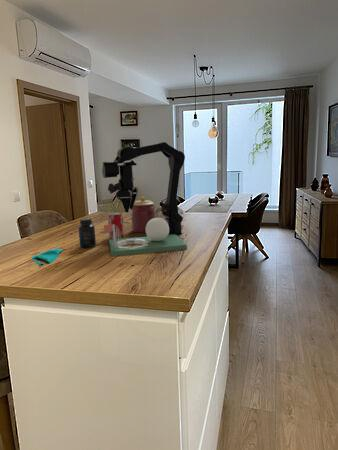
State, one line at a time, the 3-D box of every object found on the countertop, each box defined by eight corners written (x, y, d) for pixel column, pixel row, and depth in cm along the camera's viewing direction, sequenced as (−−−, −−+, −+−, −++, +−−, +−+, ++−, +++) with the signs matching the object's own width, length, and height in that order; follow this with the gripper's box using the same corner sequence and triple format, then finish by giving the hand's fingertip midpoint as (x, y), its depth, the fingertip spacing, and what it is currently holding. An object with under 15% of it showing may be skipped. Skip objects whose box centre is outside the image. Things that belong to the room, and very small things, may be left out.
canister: (145, 234, 165) (143, 198, 162) (126, 231, 173) (124, 197, 170) (161, 229, 176) (160, 195, 172) (143, 226, 183) (141, 194, 180)
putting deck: (175, 238, 155) (174, 212, 152) (187, 249, 135) (186, 220, 133) (104, 244, 148) (102, 217, 146) (106, 257, 129) (104, 226, 126)
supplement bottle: (99, 245, 148) (97, 218, 145) (90, 249, 141) (88, 221, 139) (85, 244, 150) (83, 217, 147) (76, 248, 144) (74, 220, 141)
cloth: (47, 249, 145) (47, 244, 145) (78, 249, 143) (77, 244, 143) (12, 269, 120) (11, 263, 120) (48, 269, 118) (47, 263, 118)
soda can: (121, 240, 155) (119, 214, 152) (107, 240, 156) (105, 214, 154) (126, 236, 162) (125, 212, 159) (112, 236, 163) (111, 212, 161)
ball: (166, 237, 148) (166, 215, 146) (171, 242, 139) (171, 219, 137) (144, 239, 146) (143, 216, 144) (148, 244, 137) (146, 220, 135)
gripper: (114, 175, 160) (117, 208, 163) (102, 178, 142) (106, 214, 145) (137, 174, 159) (139, 207, 162) (128, 177, 141) (131, 214, 144)
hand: (129, 210), depth 153 cm, fingers open, 9 cm apart
